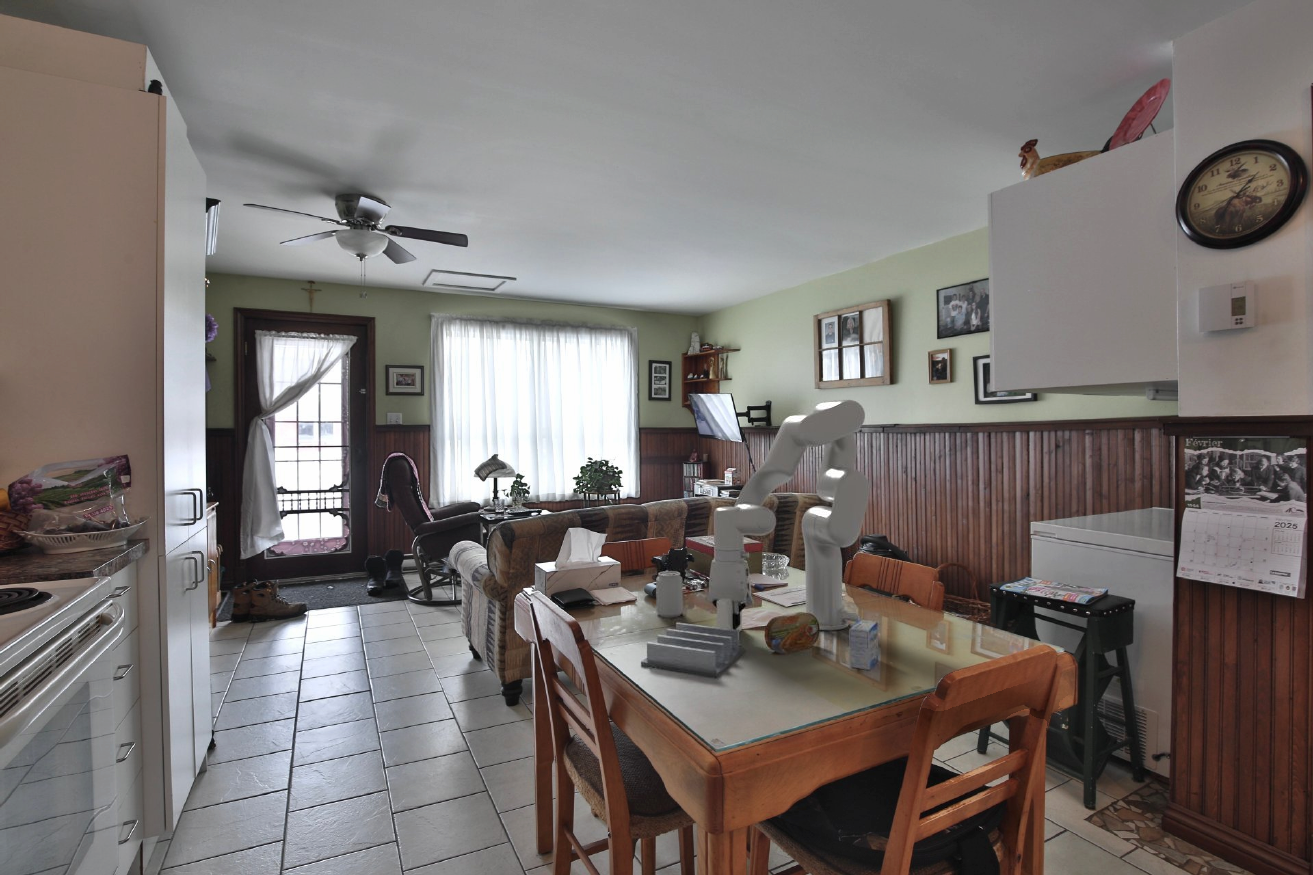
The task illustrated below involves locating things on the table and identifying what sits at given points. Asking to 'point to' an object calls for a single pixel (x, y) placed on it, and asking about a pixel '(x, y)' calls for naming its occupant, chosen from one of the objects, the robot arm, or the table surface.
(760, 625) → the table surface
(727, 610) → the cream white block
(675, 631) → the dish rack
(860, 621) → the medicine box
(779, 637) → the tin
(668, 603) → the can
